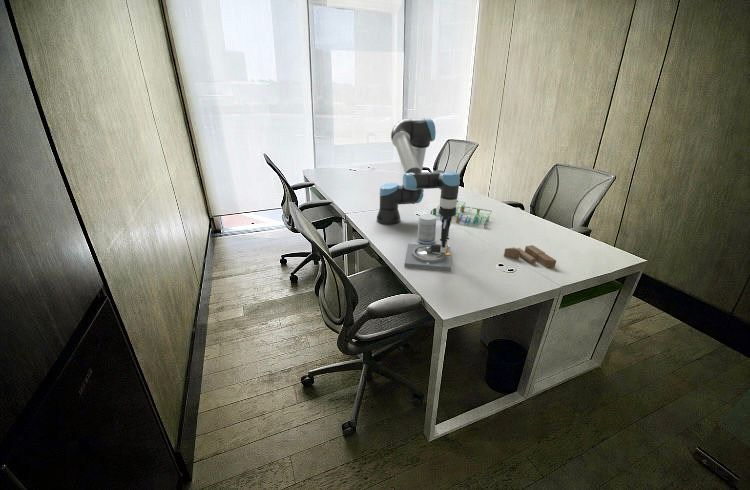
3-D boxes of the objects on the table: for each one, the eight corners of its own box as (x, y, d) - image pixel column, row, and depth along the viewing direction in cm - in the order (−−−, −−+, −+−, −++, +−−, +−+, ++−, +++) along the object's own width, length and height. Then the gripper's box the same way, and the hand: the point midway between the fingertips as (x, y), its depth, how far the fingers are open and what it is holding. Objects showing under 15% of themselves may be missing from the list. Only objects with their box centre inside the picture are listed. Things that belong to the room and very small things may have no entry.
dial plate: (404, 266, 159) (404, 260, 158) (408, 246, 179) (408, 241, 177) (450, 271, 156) (451, 264, 154) (449, 250, 175) (450, 244, 174)
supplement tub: (437, 244, 182) (439, 219, 175) (420, 245, 180) (422, 220, 173) (430, 236, 190) (432, 212, 184) (414, 238, 188) (416, 214, 182)
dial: (416, 259, 161) (416, 248, 159) (416, 248, 172) (417, 238, 170) (447, 261, 160) (448, 250, 157) (446, 250, 170) (447, 240, 168)
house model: (429, 218, 217) (430, 211, 215) (443, 205, 240) (444, 199, 238) (484, 228, 202) (485, 221, 200) (493, 213, 226) (494, 207, 224)
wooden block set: (532, 242, 172) (558, 258, 157) (529, 252, 175) (555, 268, 159) (504, 246, 168) (528, 262, 153) (502, 255, 171) (525, 273, 155)
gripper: (454, 211, 145) (448, 259, 155) (458, 202, 156) (452, 247, 166) (437, 209, 147) (432, 256, 157) (442, 201, 158) (437, 245, 168)
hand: (443, 252), depth 162 cm, fingers closed
